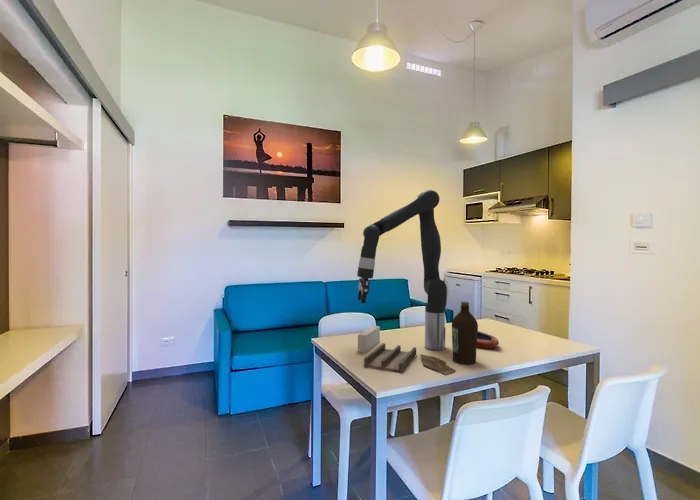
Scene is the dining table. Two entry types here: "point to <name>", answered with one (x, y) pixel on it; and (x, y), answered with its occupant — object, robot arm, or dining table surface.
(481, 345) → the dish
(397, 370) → the rack
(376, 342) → the gray rectangular block
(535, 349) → the dining table surface
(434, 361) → the wooden fragment
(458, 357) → the olive oil
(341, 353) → the dining table surface
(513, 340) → the dining table surface
